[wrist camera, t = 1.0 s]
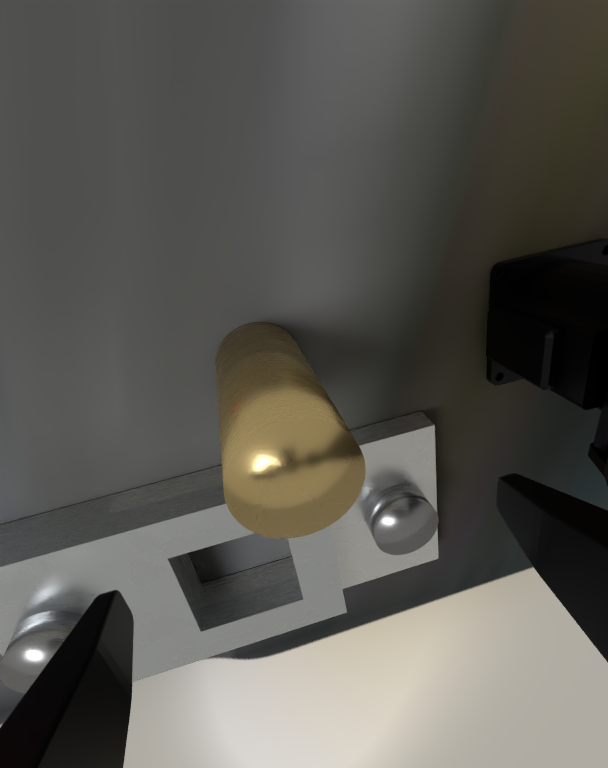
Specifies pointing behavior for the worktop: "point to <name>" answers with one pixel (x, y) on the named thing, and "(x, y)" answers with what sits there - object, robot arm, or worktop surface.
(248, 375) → the brass pin
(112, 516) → the plate with square hole
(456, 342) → the worktop surface
